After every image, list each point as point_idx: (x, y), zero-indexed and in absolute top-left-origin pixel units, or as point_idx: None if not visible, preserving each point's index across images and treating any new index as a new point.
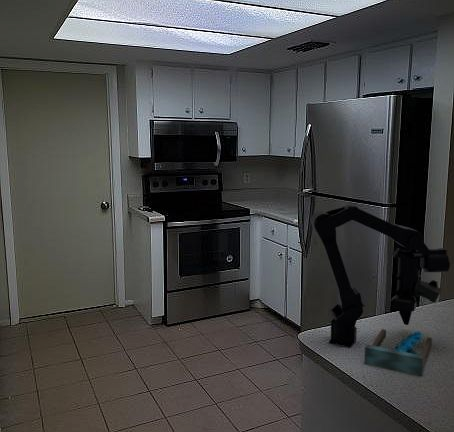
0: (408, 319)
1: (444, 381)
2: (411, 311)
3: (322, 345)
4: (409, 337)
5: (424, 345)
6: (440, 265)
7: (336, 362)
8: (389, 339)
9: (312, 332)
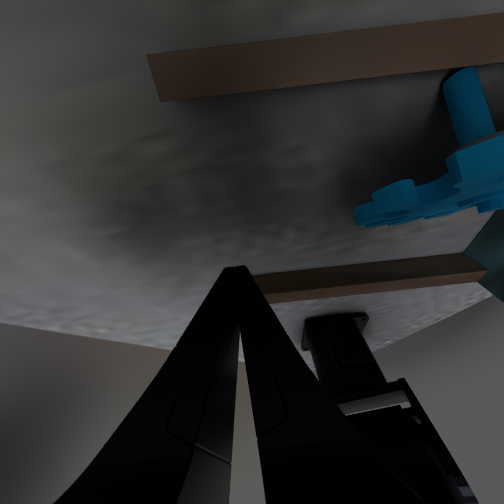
0: (266, 301)
1: None
2: (293, 396)
3: None
4: (452, 196)
5: (345, 79)
6: None
7: (464, 304)
8: (245, 263)
9: None
